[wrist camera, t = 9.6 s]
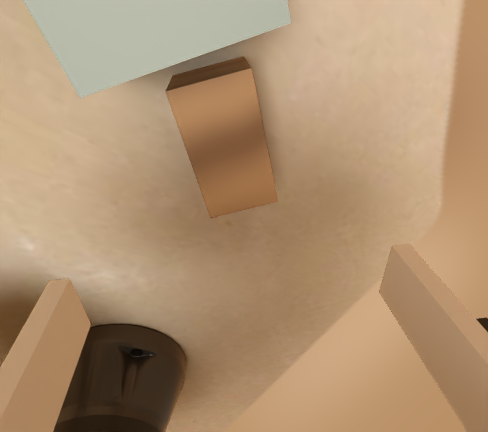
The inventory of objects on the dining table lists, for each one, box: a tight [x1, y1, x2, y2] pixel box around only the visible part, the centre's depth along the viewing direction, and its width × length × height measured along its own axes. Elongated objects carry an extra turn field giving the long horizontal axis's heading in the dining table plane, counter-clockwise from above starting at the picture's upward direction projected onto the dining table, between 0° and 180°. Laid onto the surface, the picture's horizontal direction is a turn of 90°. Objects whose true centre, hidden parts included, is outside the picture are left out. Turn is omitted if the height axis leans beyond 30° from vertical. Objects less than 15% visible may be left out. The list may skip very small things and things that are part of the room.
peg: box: [166, 57, 278, 218], centre depth 22 cm, size 9×5×5 cm, turn 13°
